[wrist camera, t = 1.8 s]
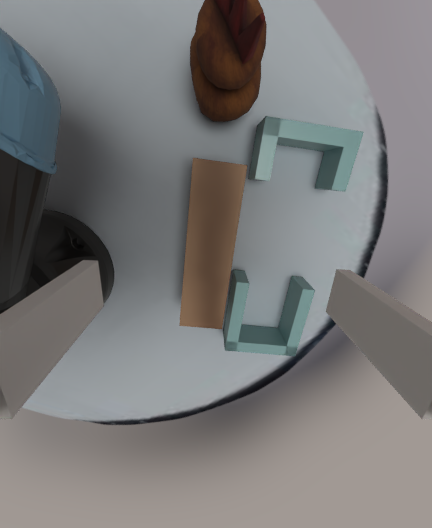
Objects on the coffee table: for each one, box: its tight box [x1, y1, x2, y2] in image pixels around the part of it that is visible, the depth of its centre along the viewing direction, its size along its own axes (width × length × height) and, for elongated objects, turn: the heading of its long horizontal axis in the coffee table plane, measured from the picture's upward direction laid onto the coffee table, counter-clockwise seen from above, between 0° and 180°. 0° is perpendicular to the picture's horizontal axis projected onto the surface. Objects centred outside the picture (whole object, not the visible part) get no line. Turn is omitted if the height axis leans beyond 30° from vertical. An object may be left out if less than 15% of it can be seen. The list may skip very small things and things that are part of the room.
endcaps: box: [223, 116, 363, 356], centre depth 28 cm, size 10×27×4 cm, turn 173°
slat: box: [180, 158, 247, 329], centre depth 27 cm, size 5×18×6 cm, turn 173°
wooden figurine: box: [190, 0, 266, 122], centre depth 17 cm, size 7×6×15 cm
